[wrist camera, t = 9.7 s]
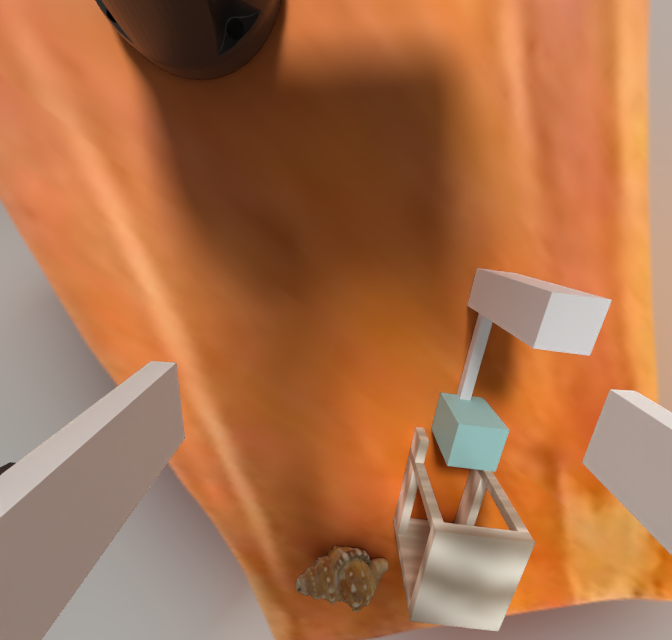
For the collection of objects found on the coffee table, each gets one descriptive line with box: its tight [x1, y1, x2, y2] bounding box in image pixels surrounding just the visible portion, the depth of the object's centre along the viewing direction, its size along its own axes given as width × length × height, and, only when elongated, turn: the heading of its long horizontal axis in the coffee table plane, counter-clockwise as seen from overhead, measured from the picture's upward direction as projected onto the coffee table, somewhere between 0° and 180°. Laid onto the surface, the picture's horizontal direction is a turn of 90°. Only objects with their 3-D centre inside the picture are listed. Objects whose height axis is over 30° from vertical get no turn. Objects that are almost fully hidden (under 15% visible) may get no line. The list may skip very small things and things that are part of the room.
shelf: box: [393, 427, 535, 631], centre depth 35 cm, size 15×9×11 cm, turn 173°
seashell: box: [296, 546, 388, 612], centre depth 41 cm, size 9×8×10 cm
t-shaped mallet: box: [431, 268, 612, 472], centre depth 29 cm, size 20×5×12 cm, turn 173°
